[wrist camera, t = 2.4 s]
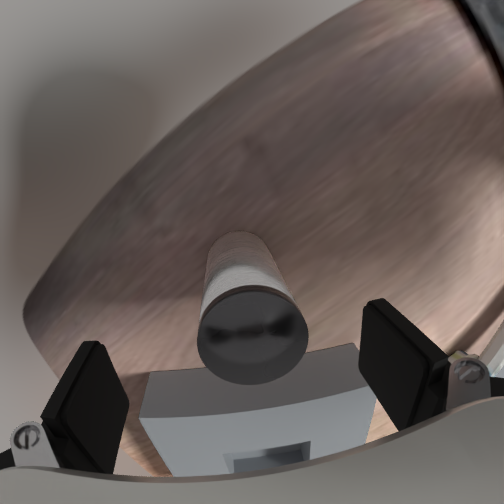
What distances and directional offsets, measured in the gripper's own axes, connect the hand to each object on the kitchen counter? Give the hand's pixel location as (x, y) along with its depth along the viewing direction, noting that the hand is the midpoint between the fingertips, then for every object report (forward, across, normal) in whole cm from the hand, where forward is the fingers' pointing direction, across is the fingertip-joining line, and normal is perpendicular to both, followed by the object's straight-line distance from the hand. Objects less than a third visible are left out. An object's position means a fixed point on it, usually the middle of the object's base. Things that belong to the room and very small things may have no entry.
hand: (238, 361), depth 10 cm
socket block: (+10, -1, +16) cm, 19 cm away
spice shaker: (+10, -1, 0) cm, 10 cm away
